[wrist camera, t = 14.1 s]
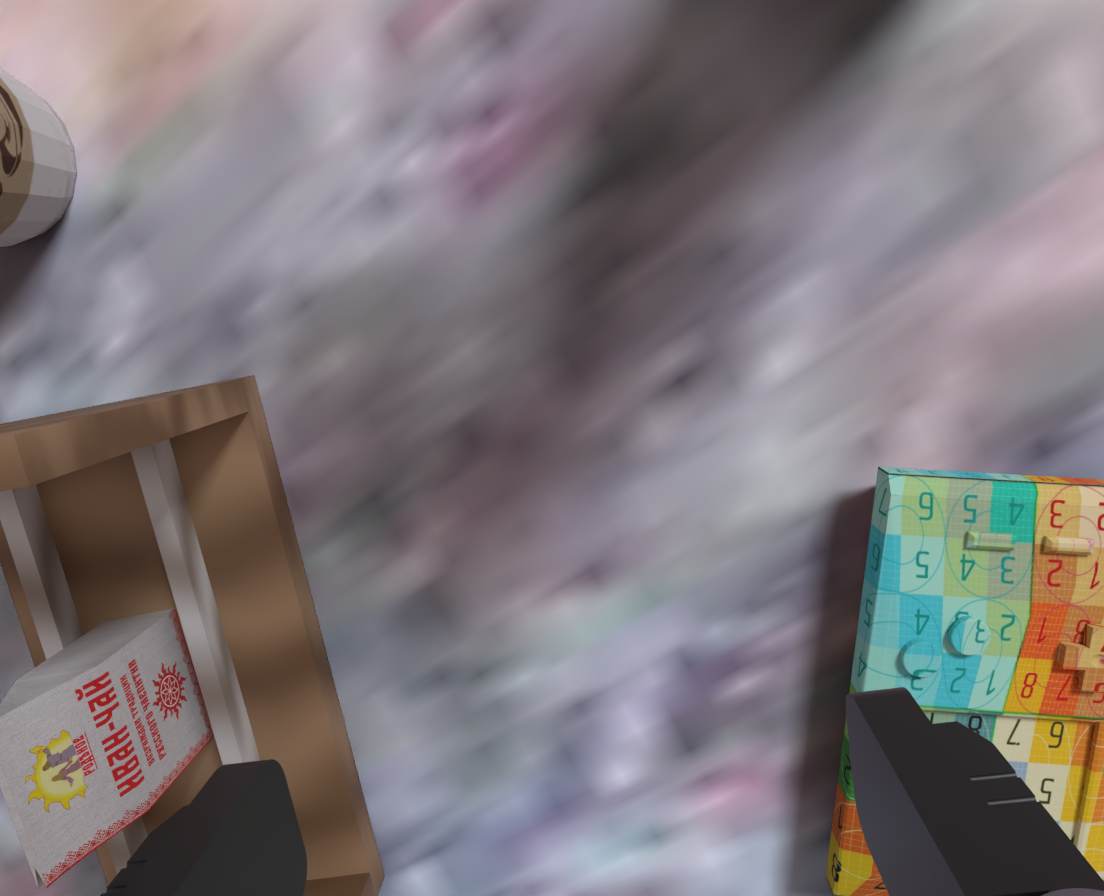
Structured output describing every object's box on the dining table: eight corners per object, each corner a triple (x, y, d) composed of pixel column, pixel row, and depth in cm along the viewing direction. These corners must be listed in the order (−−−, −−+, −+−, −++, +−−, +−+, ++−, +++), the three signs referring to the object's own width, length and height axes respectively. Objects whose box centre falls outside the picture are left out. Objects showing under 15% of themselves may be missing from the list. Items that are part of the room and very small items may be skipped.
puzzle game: (1201, 496, 31) (1108, 933, 35) (1124, 469, 36) (1050, 859, 40) (896, 478, 32) (838, 910, 36) (859, 454, 37) (812, 839, 40)
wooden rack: (-19, 427, 39) (-421, 517, 23) (253, 375, 37) (13, 434, 22) (138, 907, 44) (-111, 1238, 28) (384, 876, 42) (260, 1207, 27)
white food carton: (145, 746, 40) (-4, 895, 30) (104, 621, 39) (-66, 734, 29) (214, 734, 39) (86, 882, 30) (174, 608, 38) (27, 718, 28)
